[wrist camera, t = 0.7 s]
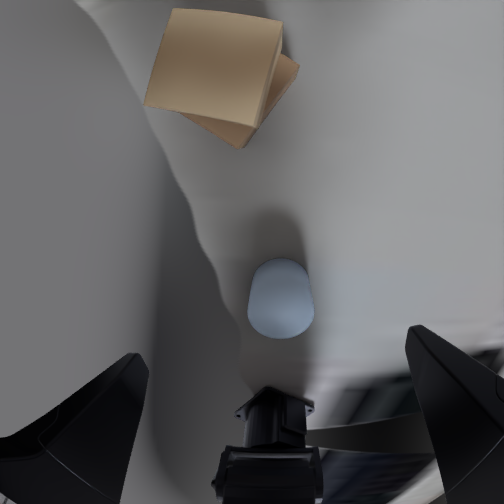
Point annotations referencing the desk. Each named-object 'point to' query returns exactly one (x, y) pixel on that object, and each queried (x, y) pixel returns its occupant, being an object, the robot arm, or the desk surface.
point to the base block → (241, 133)
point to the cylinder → (280, 299)
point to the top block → (215, 65)
